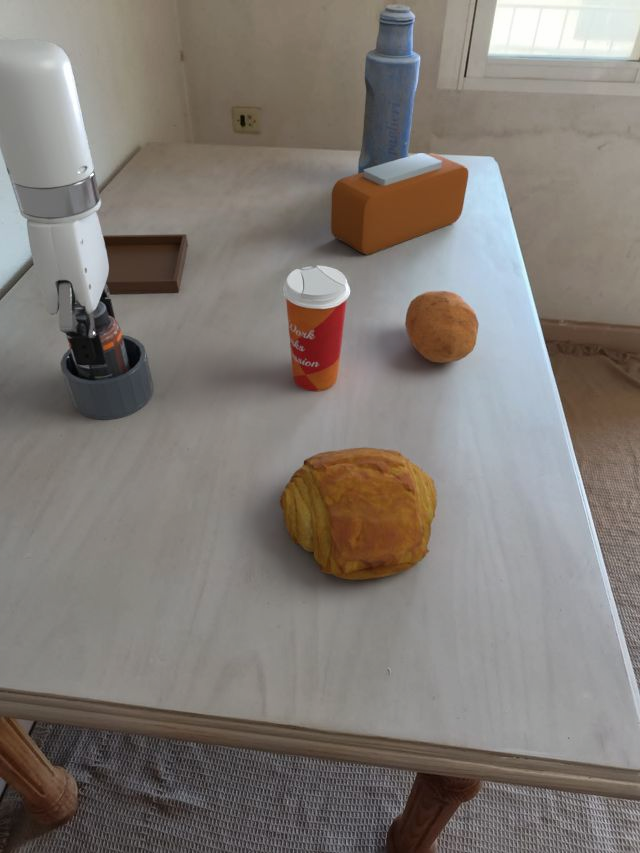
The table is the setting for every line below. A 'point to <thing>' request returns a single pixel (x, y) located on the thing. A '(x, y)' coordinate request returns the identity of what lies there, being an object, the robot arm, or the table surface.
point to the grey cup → (111, 386)
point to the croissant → (360, 511)
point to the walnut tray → (145, 263)
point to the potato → (441, 326)
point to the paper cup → (316, 324)
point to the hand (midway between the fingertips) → (97, 344)
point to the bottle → (389, 89)
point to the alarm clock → (397, 201)
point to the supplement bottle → (105, 347)
